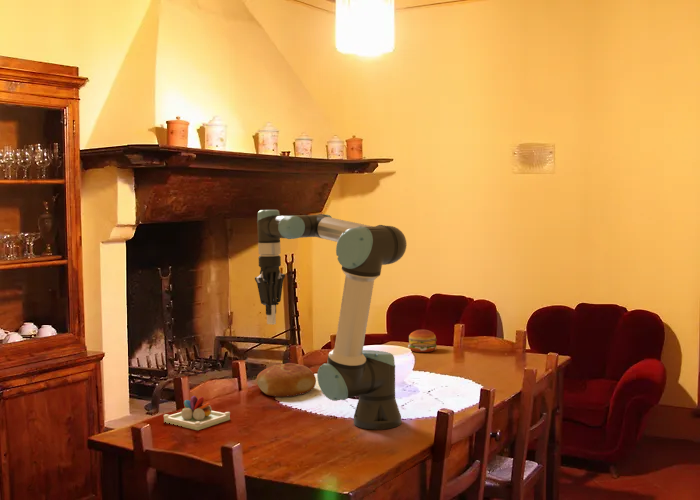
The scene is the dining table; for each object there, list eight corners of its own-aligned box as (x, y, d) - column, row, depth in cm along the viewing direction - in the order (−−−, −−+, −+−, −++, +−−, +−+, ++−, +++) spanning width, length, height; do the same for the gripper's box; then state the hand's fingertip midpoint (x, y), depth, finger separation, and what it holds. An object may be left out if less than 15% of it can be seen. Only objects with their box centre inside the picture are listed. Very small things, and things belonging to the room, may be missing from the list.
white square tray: (231, 419, 255) (230, 412, 255) (197, 430, 244) (197, 423, 244) (196, 412, 265) (196, 405, 265) (162, 422, 254) (162, 415, 253)
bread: (243, 396, 286) (242, 369, 285) (273, 382, 308) (272, 357, 307) (299, 401, 277) (298, 373, 277) (326, 386, 299) (325, 360, 298)
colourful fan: (205, 422, 249) (204, 400, 249) (177, 421, 251) (176, 399, 251) (215, 415, 258) (214, 393, 257) (187, 414, 260) (187, 392, 259)
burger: (406, 353, 358) (406, 332, 357) (409, 347, 371) (409, 327, 371) (436, 354, 356) (435, 332, 355) (437, 348, 369) (437, 327, 369)
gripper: (274, 253, 272) (276, 320, 273) (248, 256, 261) (250, 325, 263) (290, 254, 267) (292, 322, 269) (264, 256, 257) (266, 327, 259)
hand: (271, 323), depth 266 cm, fingers closed
